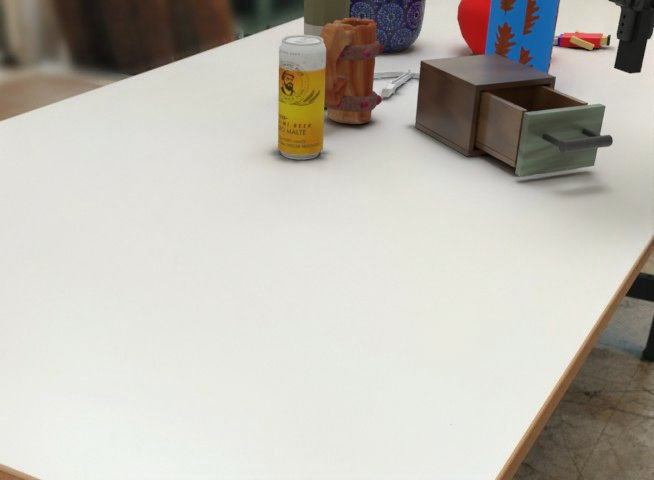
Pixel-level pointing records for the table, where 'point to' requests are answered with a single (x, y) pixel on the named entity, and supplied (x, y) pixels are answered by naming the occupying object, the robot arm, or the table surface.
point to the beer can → (301, 96)
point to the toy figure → (582, 40)
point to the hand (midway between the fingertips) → (627, 70)
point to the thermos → (523, 31)
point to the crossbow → (397, 82)
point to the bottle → (323, 14)
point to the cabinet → (465, 94)
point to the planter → (392, 20)
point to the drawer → (539, 129)
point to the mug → (350, 69)
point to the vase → (474, 23)
